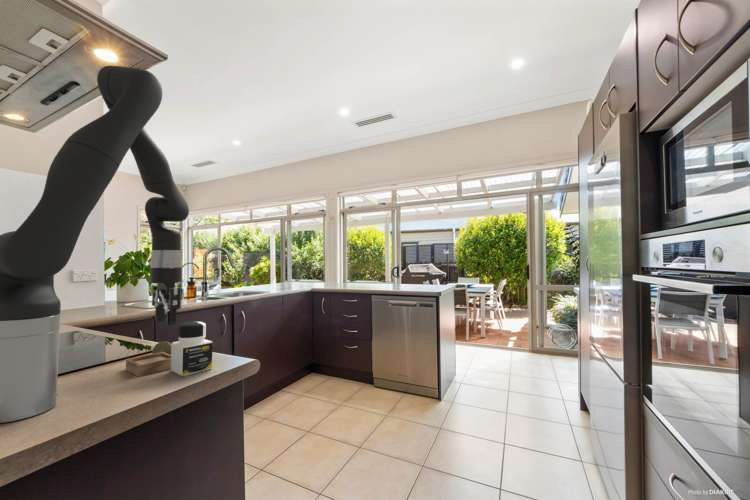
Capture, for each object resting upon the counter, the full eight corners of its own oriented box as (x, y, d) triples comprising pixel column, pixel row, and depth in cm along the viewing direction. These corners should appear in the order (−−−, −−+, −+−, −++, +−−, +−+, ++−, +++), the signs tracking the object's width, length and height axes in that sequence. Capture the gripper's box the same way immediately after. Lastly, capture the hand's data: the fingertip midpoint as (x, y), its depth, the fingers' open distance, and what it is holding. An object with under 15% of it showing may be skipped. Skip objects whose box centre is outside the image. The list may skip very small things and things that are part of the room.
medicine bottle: (182, 376, 77) (183, 326, 77) (170, 370, 81) (171, 323, 81) (212, 369, 82) (213, 322, 83) (199, 363, 87) (200, 319, 87)
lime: (174, 359, 91) (175, 341, 91) (154, 362, 88) (154, 344, 88) (170, 355, 94) (170, 338, 94) (150, 359, 91) (151, 341, 91)
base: (137, 376, 77) (137, 365, 77) (125, 369, 82) (126, 359, 82) (176, 367, 83) (176, 357, 84) (163, 361, 89) (163, 351, 89)
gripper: (142, 266, 93) (141, 322, 93) (160, 266, 85) (159, 328, 84) (171, 265, 99) (170, 318, 99) (191, 266, 90) (190, 323, 90)
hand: (165, 322), depth 91 cm, fingers open, 8 cm apart
